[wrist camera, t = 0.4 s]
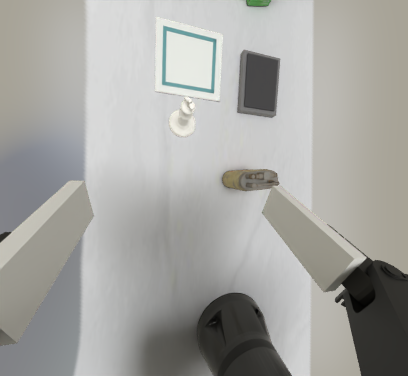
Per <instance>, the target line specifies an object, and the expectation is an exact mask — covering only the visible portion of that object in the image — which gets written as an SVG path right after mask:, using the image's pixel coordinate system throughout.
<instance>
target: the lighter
mask: <svg viewBox="0 0 408 376" xmlns="http://www.w3.org/2000/svg"><path fill="white" fill-rule="evenodd" d="M222 181H223V184H224V185H225V186H226V187H228V188H234V189H238V190H243V191H252V190H262V189H270V188H272V186H278V185H279V184H280V183H279V182H278V177H277V173H275V172H274V171H272V170H268V169H260V170H236V171H228V172H226V173H225V174H224V175H223V178H222Z"/></svg>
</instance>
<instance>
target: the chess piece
mask: <svg viewBox="0 0 408 376" xmlns="http://www.w3.org/2000/svg"><path fill="white" fill-rule="evenodd" d="M184 99H185V100H184V101H182V103H181V108H180V110H176V111H175V112H173V113H172V115H171V116H170V119H169V127H170V129H171V131H172V132H173V133H174V134H175V135H176V136H178V137H188V136H190V135H191V134H192V133H193V132H194V130H195V119H194V117H193V112H194V111H195V104H194V103H193V101H192V99H191V98H190V99H189V98H188V96H186V97H184Z"/></svg>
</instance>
